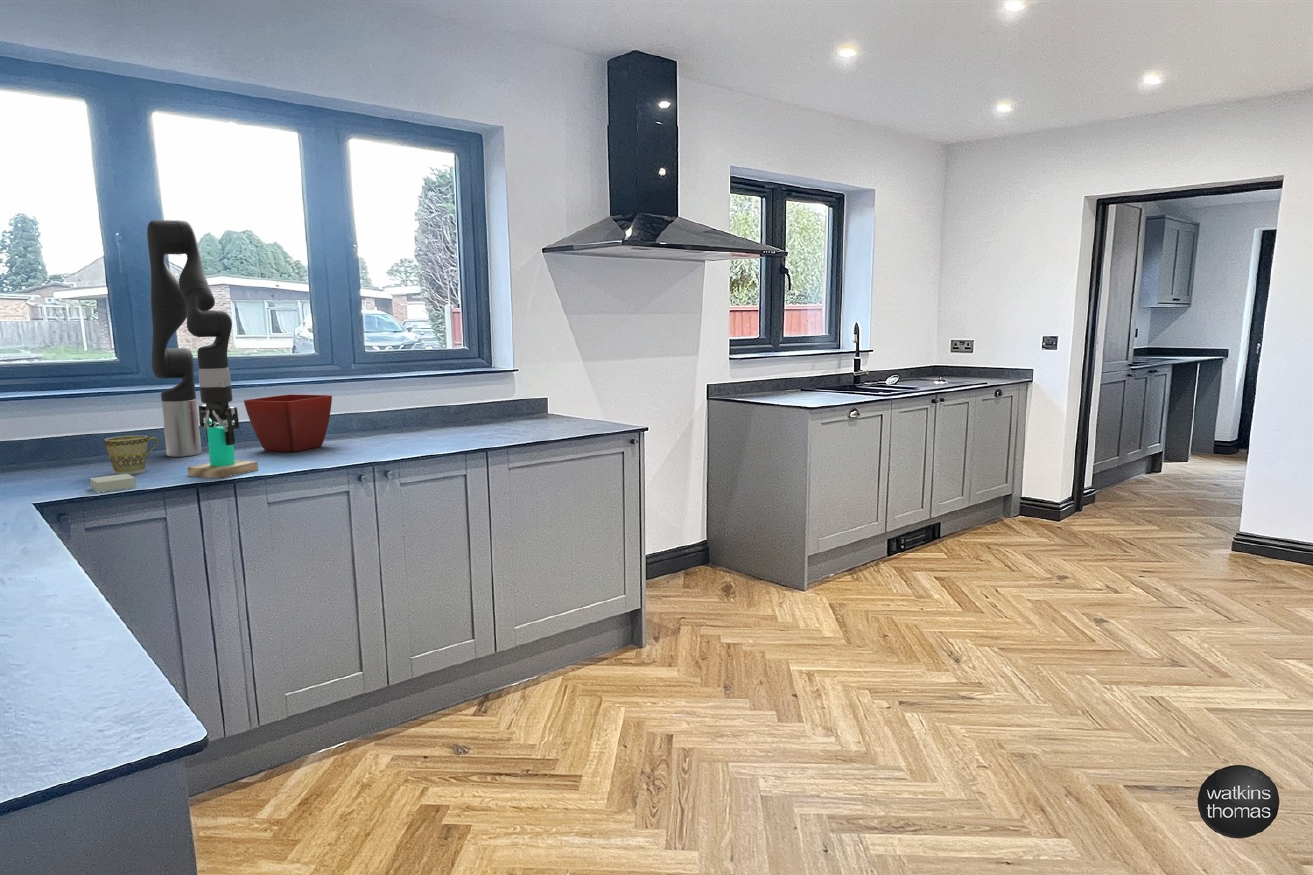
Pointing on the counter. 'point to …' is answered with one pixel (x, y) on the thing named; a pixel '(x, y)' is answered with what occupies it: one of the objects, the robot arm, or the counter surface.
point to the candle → (219, 447)
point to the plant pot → (290, 421)
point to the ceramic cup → (128, 453)
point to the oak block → (222, 469)
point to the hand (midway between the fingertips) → (221, 443)
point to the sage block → (112, 482)
